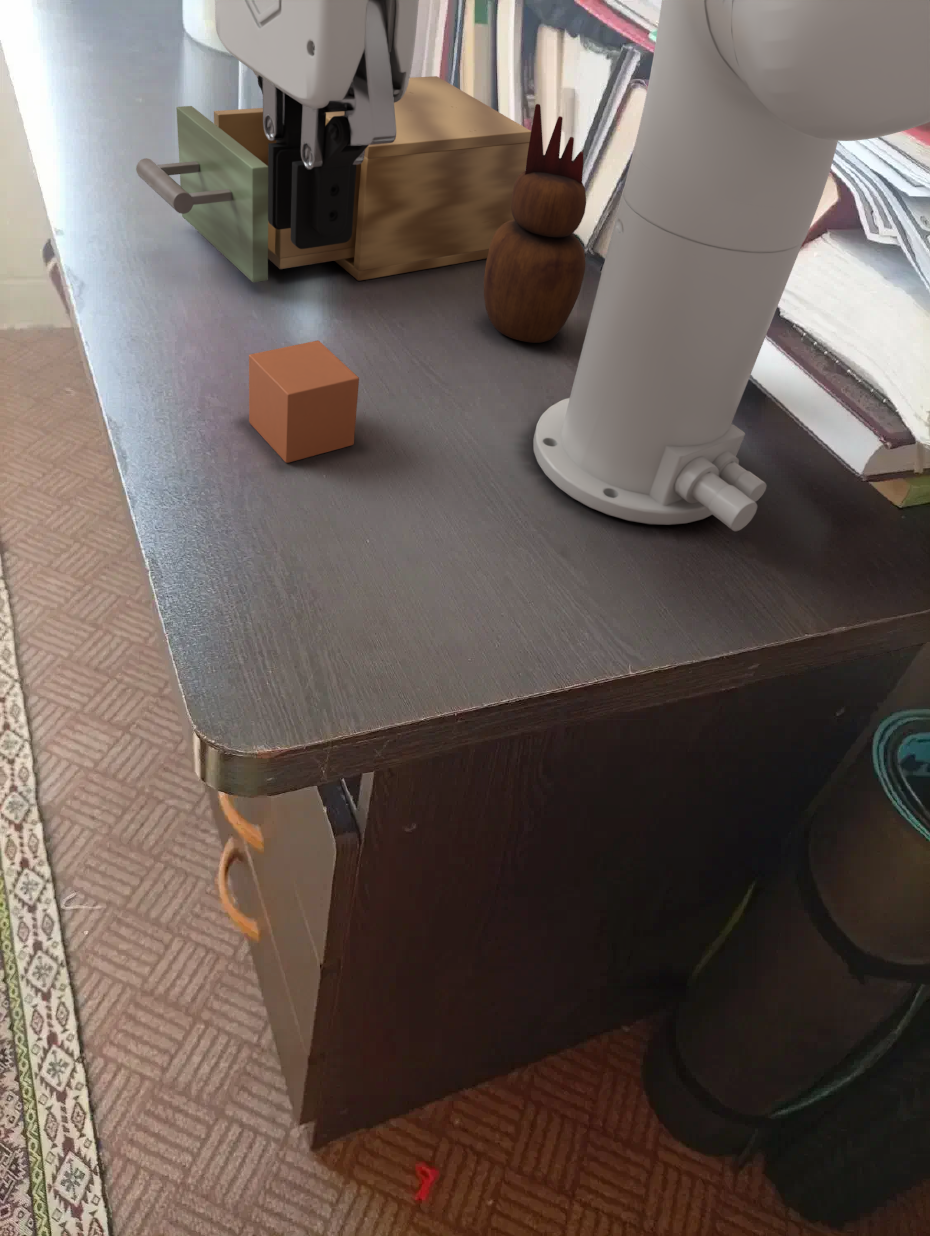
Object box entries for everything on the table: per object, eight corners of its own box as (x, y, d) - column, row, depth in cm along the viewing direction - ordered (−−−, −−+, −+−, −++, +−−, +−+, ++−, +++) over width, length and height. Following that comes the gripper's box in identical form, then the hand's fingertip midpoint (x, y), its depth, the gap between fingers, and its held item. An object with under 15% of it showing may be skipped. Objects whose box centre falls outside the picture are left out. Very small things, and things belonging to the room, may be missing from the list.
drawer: (195, 292, 66) (189, 174, 60) (126, 223, 72) (115, 109, 66) (412, 256, 75) (424, 150, 69) (335, 197, 81) (341, 96, 75)
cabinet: (358, 281, 72) (368, 146, 66) (276, 212, 79) (278, 83, 72) (509, 254, 80) (532, 131, 73) (423, 194, 86) (436, 75, 80)
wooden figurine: (463, 329, 69) (499, 103, 59) (497, 301, 73) (537, 85, 63) (548, 362, 68) (600, 136, 57) (579, 332, 72) (633, 115, 61)
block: (354, 445, 57) (359, 377, 54) (286, 463, 55) (287, 394, 52) (315, 406, 60) (318, 339, 57) (248, 422, 57) (248, 354, 54)
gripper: (144, -292, 39) (172, 181, 51) (350, -225, 31) (323, 318, 43) (310, -266, 42) (298, 168, 55) (532, -201, 34) (459, 291, 47)
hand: (309, 231), depth 49 cm, fingers closed
